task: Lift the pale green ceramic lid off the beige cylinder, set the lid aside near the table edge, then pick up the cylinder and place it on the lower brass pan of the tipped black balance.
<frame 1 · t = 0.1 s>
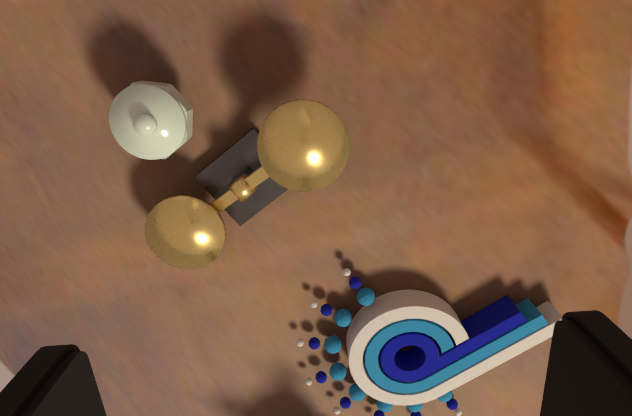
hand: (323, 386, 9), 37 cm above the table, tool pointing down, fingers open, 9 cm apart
lid: (157, 118, 41), point 3 cm above the table, touching beige cylinder
balance: (247, 176, 46), on the table
decorative sculpture: (416, 328, 54), on the table
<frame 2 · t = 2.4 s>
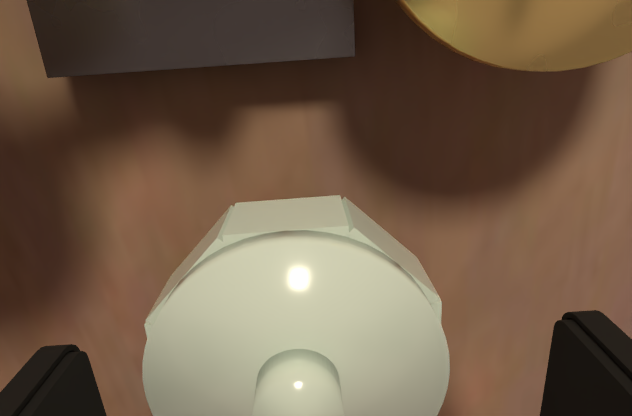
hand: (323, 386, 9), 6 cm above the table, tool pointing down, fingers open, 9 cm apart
lid: (298, 312, 12), point 3 cm above the table, touching beige cylinder
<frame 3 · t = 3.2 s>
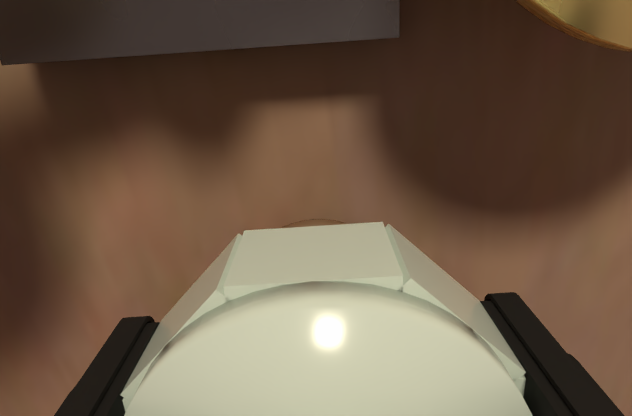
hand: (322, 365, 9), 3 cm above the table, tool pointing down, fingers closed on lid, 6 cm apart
lid: (323, 367, 9), point 3 cm above the table, touching gripper, beige cylinder
beige cylinder: (318, 291, 12), on the table, touching lid
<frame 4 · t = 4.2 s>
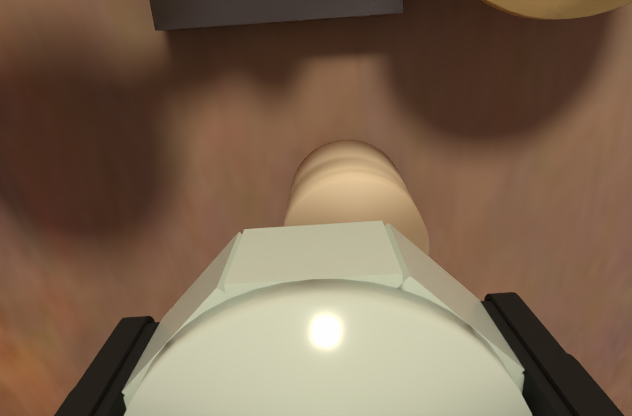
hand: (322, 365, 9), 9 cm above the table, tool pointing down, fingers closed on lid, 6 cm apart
lid: (323, 365, 9), point 9 cm above the table, touching gripper
beige cylinder: (346, 193, 17), on the table
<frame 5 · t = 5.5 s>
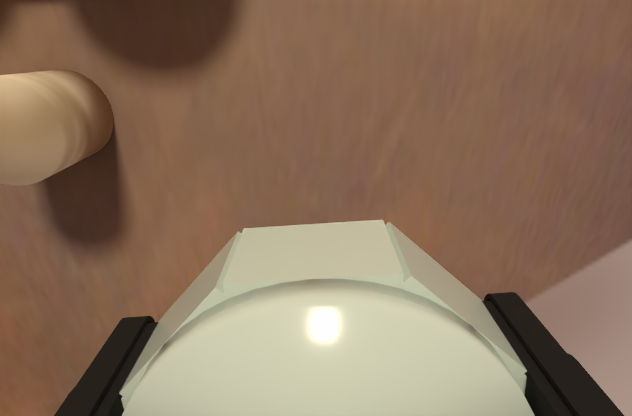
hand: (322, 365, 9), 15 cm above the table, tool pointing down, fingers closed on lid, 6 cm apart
lid: (323, 365, 9), point 15 cm above the table, touching gripper
beige cylinder: (69, 114, 22), on the table
when the fingers open (2 cm above the table, at t = 7.3 s): lid drops 2 cm, on the table.
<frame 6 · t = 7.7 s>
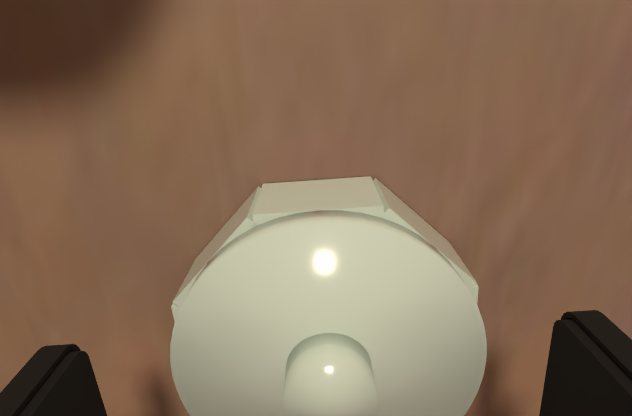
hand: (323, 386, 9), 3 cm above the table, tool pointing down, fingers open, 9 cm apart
lid: (325, 297, 12), on the table
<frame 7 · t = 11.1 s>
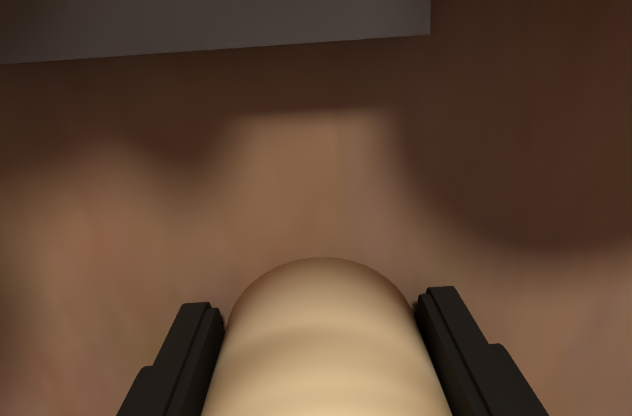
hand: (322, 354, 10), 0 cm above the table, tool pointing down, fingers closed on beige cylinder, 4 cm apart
beige cylinder: (321, 342, 10), on the table, touching gripper
when the fingers open (6 cm above the table, at t = 14.8 s): beige cylinder drops 1 cm, resting on balance.
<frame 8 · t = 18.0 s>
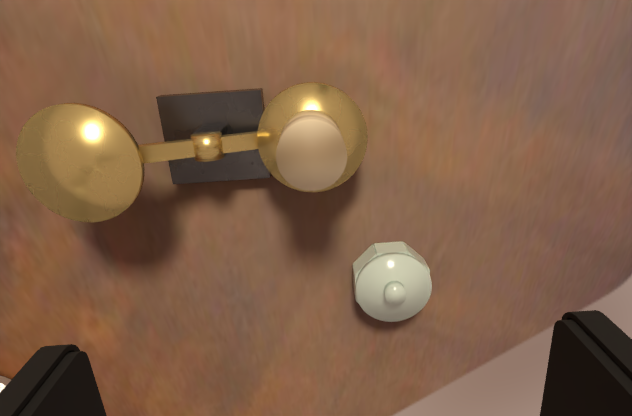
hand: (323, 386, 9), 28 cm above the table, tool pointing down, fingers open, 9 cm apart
lid: (388, 274, 40), on the table
balance: (218, 135, 35), on the table
beige cylinder: (311, 140, 31), point 4 cm above the table, touching balance
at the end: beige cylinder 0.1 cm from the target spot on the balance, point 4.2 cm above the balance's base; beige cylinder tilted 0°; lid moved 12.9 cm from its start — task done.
